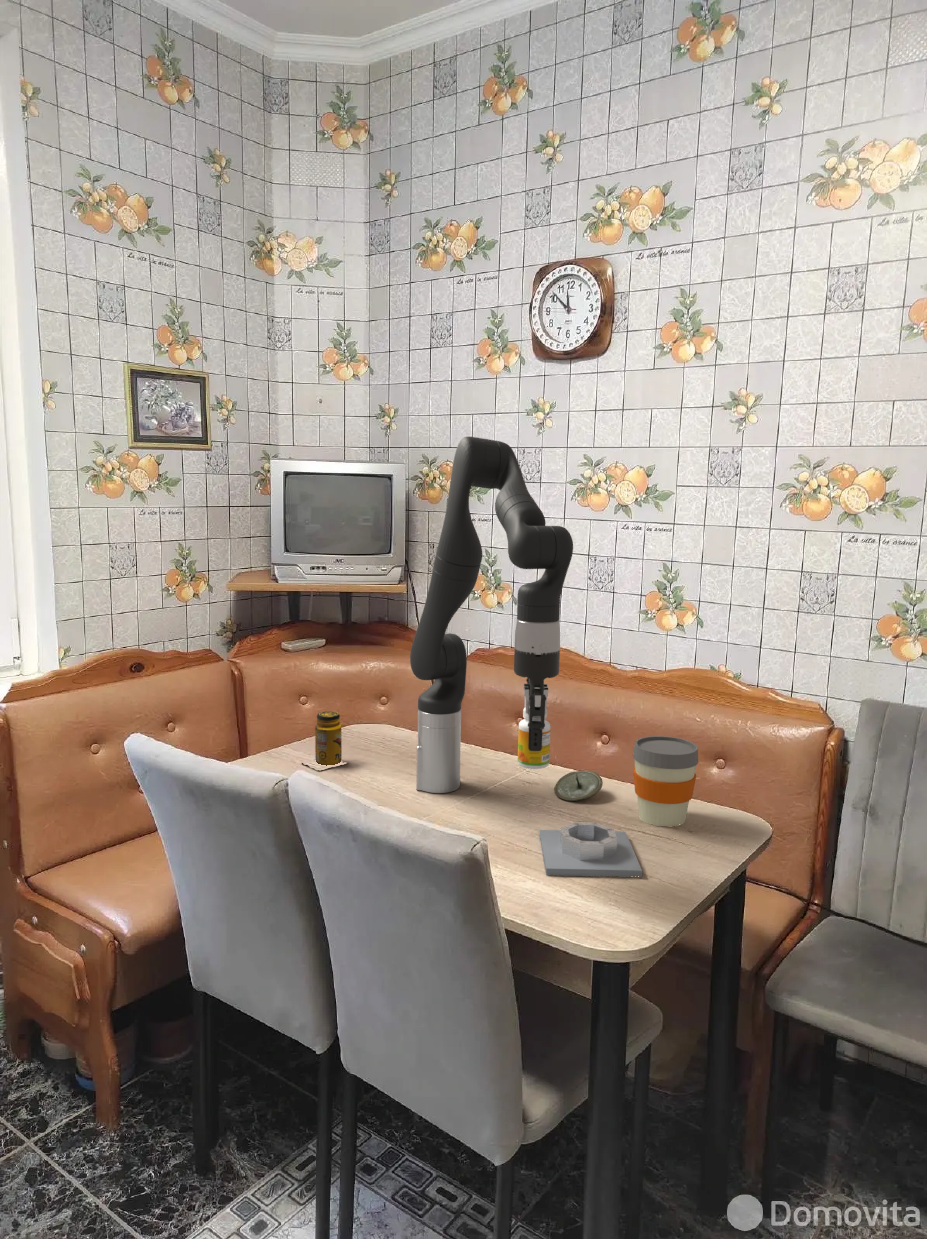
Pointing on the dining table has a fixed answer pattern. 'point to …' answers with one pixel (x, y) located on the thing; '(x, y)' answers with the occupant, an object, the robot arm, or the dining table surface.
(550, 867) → the hub plate
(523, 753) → the supplement bottle
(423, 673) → the robot arm
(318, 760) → the condiment
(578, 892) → the dining table surface
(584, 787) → the lid
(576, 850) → the steel collar
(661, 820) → the reusable coffee cup
